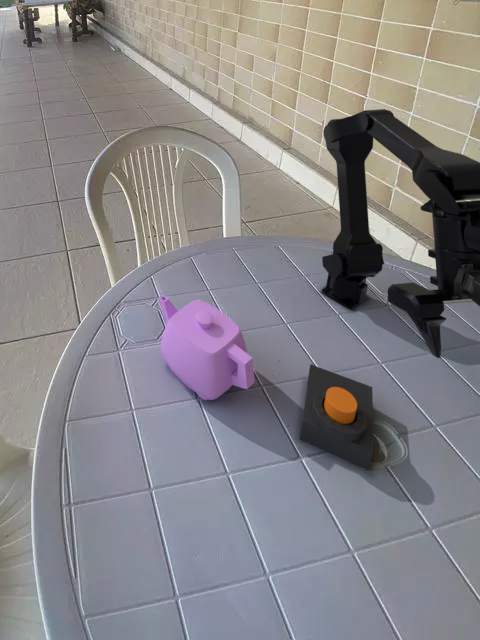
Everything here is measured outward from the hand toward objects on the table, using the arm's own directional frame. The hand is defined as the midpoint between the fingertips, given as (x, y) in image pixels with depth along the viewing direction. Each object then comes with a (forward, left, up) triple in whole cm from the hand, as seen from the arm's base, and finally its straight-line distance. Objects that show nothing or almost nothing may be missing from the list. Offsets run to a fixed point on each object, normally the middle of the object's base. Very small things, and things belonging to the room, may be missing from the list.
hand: (467, 353), depth 61 cm
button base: (-9, -14, -14) cm, 22 cm away
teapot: (-28, -24, -14) cm, 40 cm away
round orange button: (-8, -16, -8) cm, 20 cm away
